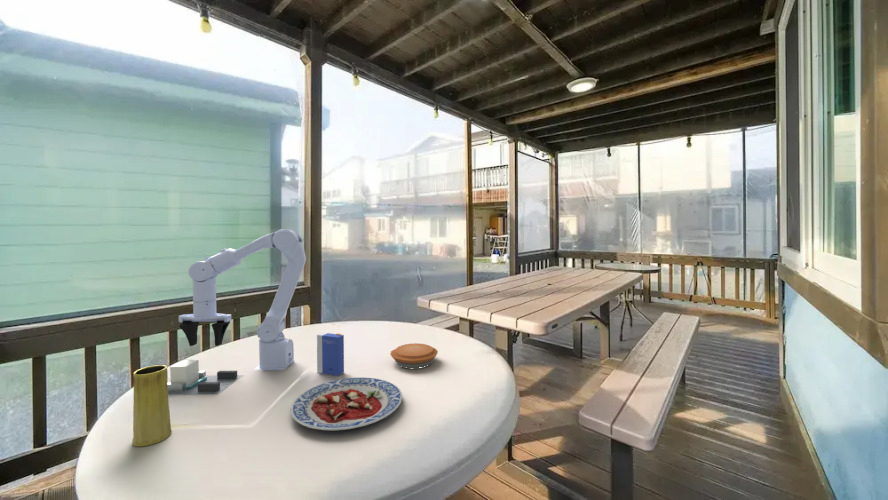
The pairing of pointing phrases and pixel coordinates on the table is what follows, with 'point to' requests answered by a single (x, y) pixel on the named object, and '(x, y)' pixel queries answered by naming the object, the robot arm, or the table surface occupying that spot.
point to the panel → (223, 382)
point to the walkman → (330, 353)
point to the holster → (216, 385)
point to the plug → (185, 372)
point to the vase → (151, 406)
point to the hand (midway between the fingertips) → (205, 345)
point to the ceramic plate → (346, 403)
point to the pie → (414, 355)
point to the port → (182, 386)
